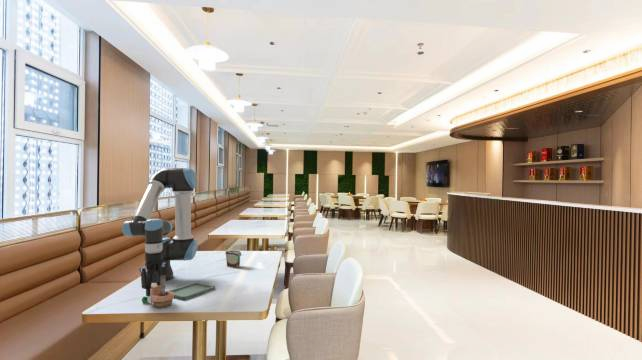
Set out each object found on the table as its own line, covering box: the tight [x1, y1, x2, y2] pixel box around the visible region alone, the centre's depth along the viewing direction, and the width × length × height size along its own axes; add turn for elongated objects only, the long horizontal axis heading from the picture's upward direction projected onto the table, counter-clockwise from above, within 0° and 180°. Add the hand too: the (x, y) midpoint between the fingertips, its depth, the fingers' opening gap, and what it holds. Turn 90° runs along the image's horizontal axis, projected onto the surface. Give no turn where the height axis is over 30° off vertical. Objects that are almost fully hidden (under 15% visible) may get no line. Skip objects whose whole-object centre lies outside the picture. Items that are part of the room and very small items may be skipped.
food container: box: [224, 250, 242, 269], centre depth 236 cm, size 12×6×10 cm, turn 58°
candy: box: [141, 295, 148, 304], centre depth 173 cm, size 12×3×4 cm
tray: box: [168, 281, 216, 301], centre depth 184 cm, size 20×15×2 cm
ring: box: [151, 284, 175, 302], centre depth 166 cm, size 9×13×5 cm
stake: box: [152, 275, 173, 309], centre depth 165 cm, size 8×8×14 cm
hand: (153, 301), depth 168 cm, fingers closed on ring, 3 cm apart
